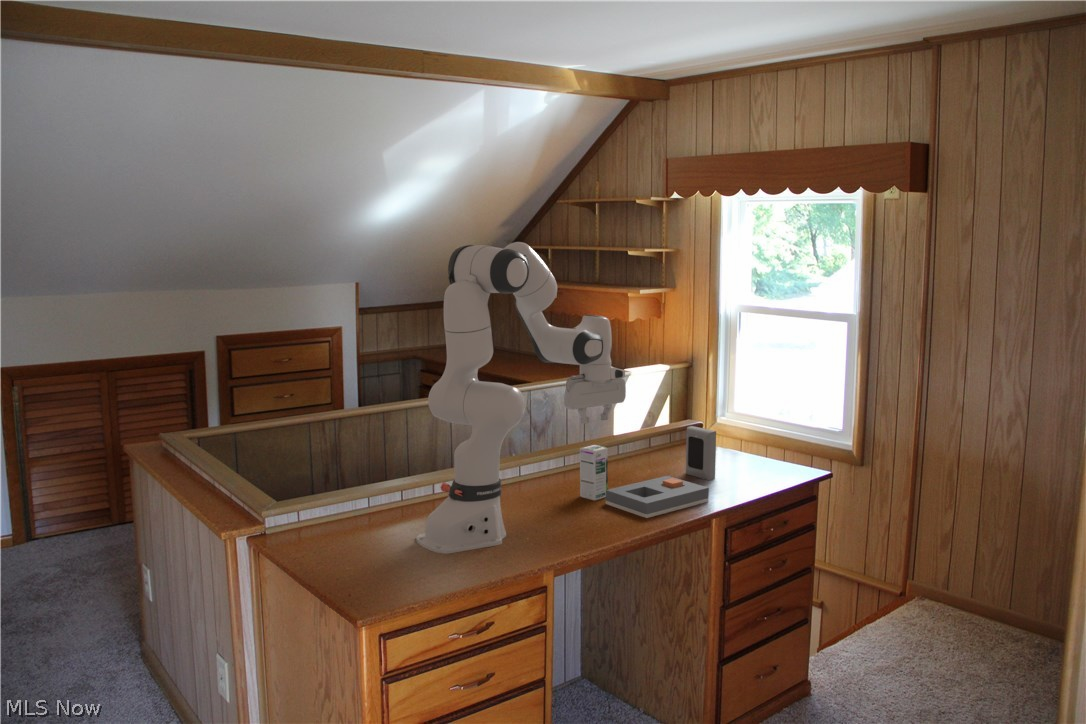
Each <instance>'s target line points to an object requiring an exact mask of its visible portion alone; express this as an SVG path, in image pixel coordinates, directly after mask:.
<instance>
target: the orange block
mask: <svg viewBox="0 0 1086 724" xmlns="http://www.w3.org/2000/svg"><path fill="white" fill-rule="evenodd" d="M673 478H674V477H673ZM673 478H672V479H668V480H663V486H666V487H669V488H677V487H682V486H683V481H680V480H681V479H680V480H677V479H678V478H677V479H673Z"/></svg>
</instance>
